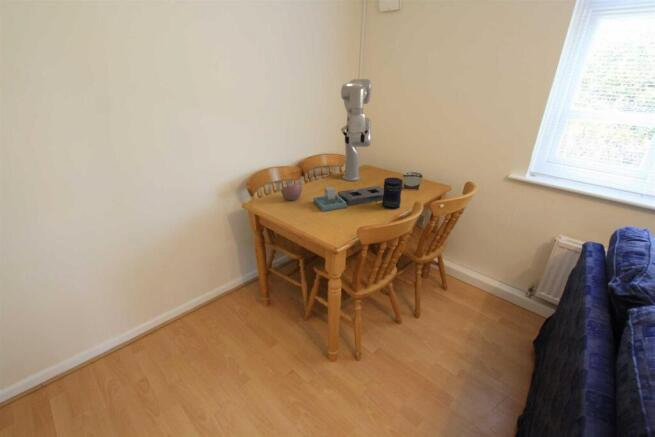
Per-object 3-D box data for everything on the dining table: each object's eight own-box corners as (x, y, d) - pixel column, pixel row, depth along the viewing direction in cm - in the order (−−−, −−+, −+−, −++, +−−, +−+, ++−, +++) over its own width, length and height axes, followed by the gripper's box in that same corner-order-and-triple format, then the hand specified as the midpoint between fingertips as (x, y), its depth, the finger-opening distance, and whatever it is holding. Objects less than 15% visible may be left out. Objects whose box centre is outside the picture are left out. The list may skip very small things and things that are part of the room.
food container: (419, 186, 197) (421, 171, 193) (420, 190, 191) (423, 174, 187) (400, 186, 198) (401, 171, 194) (401, 189, 192) (402, 174, 188)
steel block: (324, 202, 170) (324, 187, 166) (331, 201, 171) (332, 186, 167) (327, 205, 166) (327, 190, 162) (335, 204, 168) (335, 189, 164)
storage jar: (396, 211, 162) (399, 184, 156) (379, 207, 167) (381, 181, 160) (402, 204, 170) (405, 179, 163) (386, 201, 174) (388, 176, 168)
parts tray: (313, 202, 172) (313, 197, 171) (335, 198, 177) (336, 194, 176) (322, 211, 161) (322, 206, 159) (346, 207, 166) (346, 202, 164)
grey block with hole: (337, 197, 180) (337, 191, 178) (378, 191, 189) (378, 185, 188) (348, 205, 168) (348, 200, 166) (390, 198, 178) (391, 193, 176)
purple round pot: (293, 194, 184) (292, 176, 179) (306, 199, 176) (306, 180, 171) (277, 199, 176) (276, 180, 171) (290, 205, 169) (289, 185, 164)
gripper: (344, 112, 160) (344, 145, 168) (373, 111, 166) (371, 142, 174) (338, 111, 167) (338, 142, 174) (366, 110, 173) (364, 140, 180)
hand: (354, 142), depth 174 cm, fingers open, 9 cm apart
